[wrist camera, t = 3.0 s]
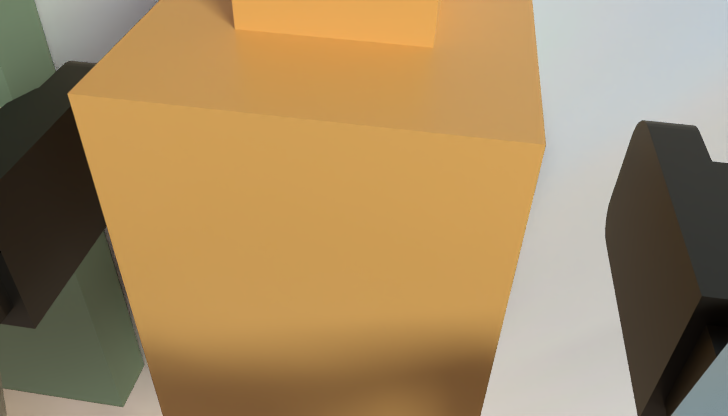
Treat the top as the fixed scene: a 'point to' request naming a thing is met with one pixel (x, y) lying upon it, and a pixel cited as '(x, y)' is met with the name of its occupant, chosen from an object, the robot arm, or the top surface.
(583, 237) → the top surface
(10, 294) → the robot arm
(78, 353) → the board
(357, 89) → the keyed plug
